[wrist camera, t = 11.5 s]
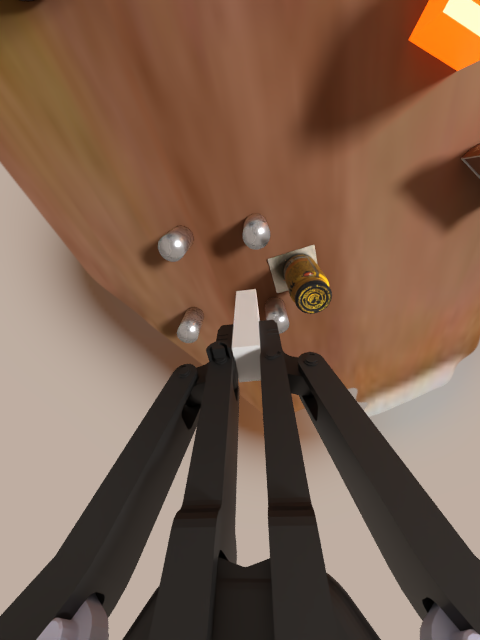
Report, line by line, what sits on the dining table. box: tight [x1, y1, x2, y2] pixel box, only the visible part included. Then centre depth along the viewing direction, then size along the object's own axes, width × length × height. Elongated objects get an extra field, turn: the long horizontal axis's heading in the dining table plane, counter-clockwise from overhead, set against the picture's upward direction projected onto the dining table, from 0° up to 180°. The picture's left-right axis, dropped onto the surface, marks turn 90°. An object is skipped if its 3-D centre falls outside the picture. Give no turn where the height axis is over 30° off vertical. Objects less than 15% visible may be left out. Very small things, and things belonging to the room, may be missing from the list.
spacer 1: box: [158, 226, 194, 262], centre depth 38 cm, size 4×4×7 cm
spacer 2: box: [177, 307, 204, 343], centre depth 47 cm, size 4×4×7 cm
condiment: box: [268, 245, 332, 314], centre depth 39 cm, size 7×8×12 cm
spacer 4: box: [265, 297, 289, 334], centre depth 45 cm, size 4×4×7 cm
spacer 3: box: [243, 213, 270, 249], centre depth 37 cm, size 4×4×7 cm
